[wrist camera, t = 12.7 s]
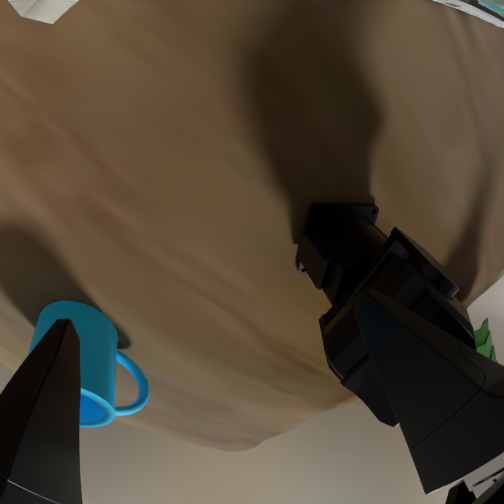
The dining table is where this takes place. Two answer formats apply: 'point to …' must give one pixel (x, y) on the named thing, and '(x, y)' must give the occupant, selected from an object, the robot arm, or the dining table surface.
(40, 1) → the white crate
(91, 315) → the mug
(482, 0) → the tea box
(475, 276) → the dining table surface
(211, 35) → the dining table surface
